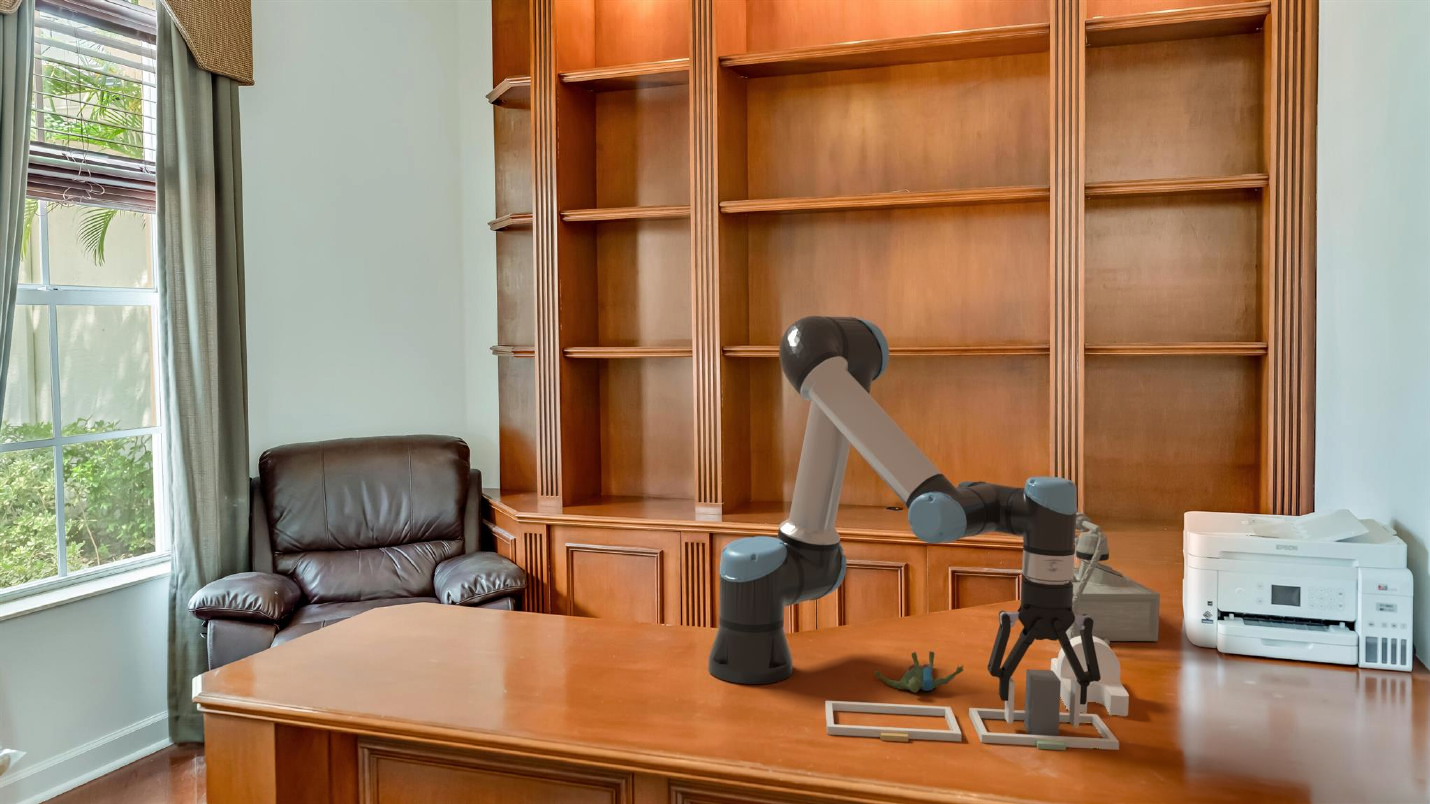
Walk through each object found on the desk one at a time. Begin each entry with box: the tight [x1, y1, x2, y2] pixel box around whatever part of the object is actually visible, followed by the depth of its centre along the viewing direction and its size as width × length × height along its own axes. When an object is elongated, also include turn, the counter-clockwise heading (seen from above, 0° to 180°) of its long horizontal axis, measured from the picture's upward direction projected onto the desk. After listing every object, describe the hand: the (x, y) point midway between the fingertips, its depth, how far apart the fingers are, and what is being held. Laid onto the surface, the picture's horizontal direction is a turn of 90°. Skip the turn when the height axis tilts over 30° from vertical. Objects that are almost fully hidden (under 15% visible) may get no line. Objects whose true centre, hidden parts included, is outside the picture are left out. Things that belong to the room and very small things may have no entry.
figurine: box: [874, 650, 964, 694], centre depth 176 cm, size 16×4×18 cm
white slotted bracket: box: [1050, 636, 1130, 717], centre depth 171 cm, size 10×18×10 cm, turn 170°
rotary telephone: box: [1066, 511, 1161, 646], centre depth 211 cm, size 32×20×25 cm, turn 2°
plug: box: [1023, 668, 1061, 736], centre depth 155 cm, size 4×6×9 cm
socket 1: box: [824, 700, 962, 742], centre depth 156 cm, size 20×12×1 cm, turn 85°
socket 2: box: [968, 707, 1120, 751], centre depth 154 cm, size 20×12×1 cm, turn 85°
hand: (1041, 722), depth 154 cm, fingers open, 9 cm apart
